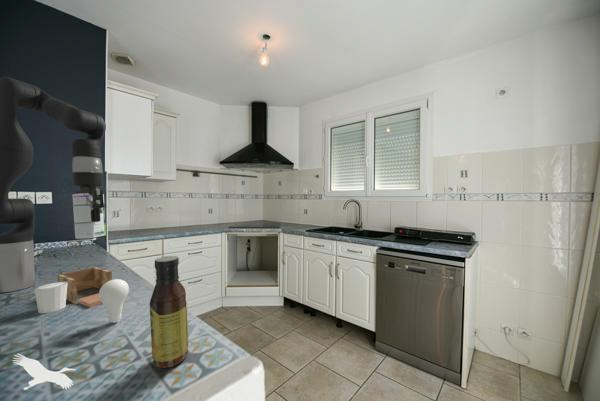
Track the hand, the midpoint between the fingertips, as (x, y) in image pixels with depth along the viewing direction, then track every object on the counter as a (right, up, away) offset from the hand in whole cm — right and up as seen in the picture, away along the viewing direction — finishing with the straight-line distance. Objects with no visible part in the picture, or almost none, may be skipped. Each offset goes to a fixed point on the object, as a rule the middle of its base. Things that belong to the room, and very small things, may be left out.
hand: (90, 221), depth 80 cm
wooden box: (-4, -25, +3) cm, 25 cm away
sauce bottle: (+44, -24, -33) cm, 60 cm away
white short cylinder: (-4, -25, -9) cm, 27 cm away
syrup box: (0, -5, 0) cm, 5 cm away
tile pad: (+6, -25, -3) cm, 25 cm away
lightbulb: (+22, -24, -18) cm, 37 cm away
